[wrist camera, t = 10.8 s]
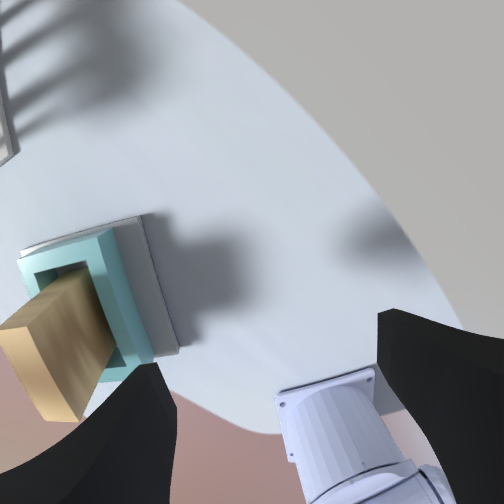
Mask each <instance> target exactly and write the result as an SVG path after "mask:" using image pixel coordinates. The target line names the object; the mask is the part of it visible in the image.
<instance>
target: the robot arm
mask: <svg viewBox="0 0 504 504" xmlns="http://www.w3.org/2000/svg"><path fill="white" fill-rule="evenodd" d="M377 364H378V365H379V367H380V369H381V371H382V373H383V375H384V377H385V379H386V381H387V382H388V384H389V386H390V387H391V389H392V390H393V391H394V393H395V394H396V395H397V397H398V398H399V400H400V401H401V402H402V404H403V405H404V406H405V408H406V409H407V410H408V412H409V413H410V414H411V416H412V417H413V418H414V420H415V421H416V423H417V424H418V425H419V427H420V428H421V429H422V431H423V433H424V434H425V436H426V437H427V439H428V441H429V443H430V445H431V447H432V449H433V450H434V452H435V454H436V456H437V458H438V460H439V462H440V465H441V466H442V469H443V470H442V469H440V468H439V467H437V466H430V465H429V464H425V465H423V466H421V467H419V468H418V469H417V467H416V466H415V464H414V462H413V461H412V459H411V458H410V459H408V460H406V458H405V457H404V455H403V453H402V452H401V450H400V448H399V447H398V445H397V443H396V442H395V440H394V438H393V437H392V435H391V433H390V432H389V430H388V428H387V427H386V425H385V423H384V422H383V420H382V419H381V417H380V415H379V414H378V412H377V410H376V409H375V407H374V405H373V400H374V385H375V371H374V370H373V369H372V368H367V369H364V370H361V371H358V372H355V373H351V374H348V375H345V376H342V377H338V378H335V379H331V380H328V381H324V382H321V383H317V384H313V385H310V386H306V387H302V388H298V389H294V390H290V391H286V392H281V393H278V394H277V395H276V396H275V402H276V407H277V411H278V416H279V421H280V425H281V430H282V434H283V439H284V444H285V448H286V453H287V457H288V461H289V462H292V463H293V462H296V466H297V470H298V473H299V477H300V481H301V484H302V488H303V492H304V495H305V499H306V503H307V504H504V339H500V338H495V337H489V336H483V335H479V334H475V333H471V332H467V331H463V330H460V329H456V328H453V327H450V326H447V325H444V324H441V323H438V322H435V321H432V320H429V319H426V318H423V317H420V316H417V315H414V314H411V313H408V312H405V311H402V310H398V309H394V308H393V309H390V310H387V311H384V312H380V313H378V340H377ZM368 378H369V379H368ZM367 379H368V380H367ZM282 402H285V403H283V404H280V403H282ZM176 438H177V407H176V405H175V403H174V401H173V398H172V396H171V394H170V392H169V390H168V387H167V385H166V383H165V380H164V378H163V376H162V374H161V371H160V369H159V366H158V364H157V362H155V363H148V364H140V365H139V366H137V367H136V368H135V369H134V370H133V371H132V372H131V373H130V374H129V375H128V377H127V378H126V379H125V380H124V381H123V382H122V383H121V384H120V385H119V386H118V387H117V388H116V389H115V391H114V392H113V393H112V394H111V395H110V396H109V397H108V398H107V399H106V400H105V401H104V402H103V403H102V404H101V405H100V406H99V407H98V408H97V409H96V410H95V411H94V412H93V413H92V414H91V415H90V416H89V417H88V418H87V419H86V420H85V421H84V422H83V423H81V424H80V425H79V426H78V427H77V428H76V429H75V430H73V431H72V432H71V433H70V434H69V435H67V436H66V437H64V438H63V439H62V440H61V441H59V442H58V443H56V444H55V445H54V446H52V447H50V448H49V449H47V450H46V451H44V452H42V453H41V454H39V455H38V456H36V457H35V458H33V459H31V460H29V461H27V462H25V463H23V464H22V465H20V466H17V467H15V468H13V469H11V470H8V471H6V472H4V473H1V474H0V504H169V503H170V502H169V498H170V485H171V477H172V469H173V460H174V453H175V446H176Z"/></svg>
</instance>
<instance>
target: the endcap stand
mask: <svg viewBox="0 0 504 504" xmlns="http://www.w3.org/2000/svg"><path fill="white" fill-rule="evenodd" d="M20 252H21V256H22V257H21V258H20V259H18V260H17V262H18V265H19V268H20V271H21V274H22V277H23V280H24V283H25V286H26V289H27V291H28V294H29V297H30V299H32V298H33V297H35V296H36V295H37V294H38V293H40V292H41V291H42V290H43V289H44V288H46V287H47V286H48V285H50V284H51V283H52V282H53V281H55V280H56V279H57V278H58V277H60V276H61V275H62V274H64V273H65V272H66V271H70V270H74V269H78V268H83V267H87V266H88V267H89V271H90V274H91V277H92V280H93V283H94V286H95V289H96V291H97V294H98V297H99V300H100V303H101V305H102V308H103V311H104V313H105V316H106V318H107V321H108V324H109V326H110V329H111V331H112V333H113V336H114V338H115V341H116V343H117V345H116V347H115V349H114V351H113V353H112V355H111V357H110V359H109V361H108V363H107V365H106V367H105V369H104V371H103V373H102V375H101V377H100V379H99V381H98V383H99V382H112V381H123V380H125V379H126V378H127V377H128V375H129V374H130V373H131V372H132V371H133V370H134V369H135V368H136V367H137V366H139V365H140V364H148V363H153V359H154V358H156V357H162V356H169V355H176V354H179V349H180V347H179V344H178V341H177V338H176V335H175V332H174V330H173V327H172V324H171V321H170V318H169V314H168V311H167V308H166V305H165V302H164V299H163V296H162V292H161V289H160V286H159V282H158V279H157V276H156V272H155V269H154V265H153V262H152V258H151V255H150V251H149V247H148V243H147V240H146V236H145V232H144V228H143V224H142V220H141V216H136V217H133V218H129V219H125V220H121V221H117V222H113V223H110V224H106V225H102V226H99V227H95V228H91V229H88V230H84V231H81V232H77V233H74V234H70V235H67V236H64V237H60V238H57V239H54V240H50V241H47V242H44V243H41V244H37V245H34V246H31V247H28V248H25V249H23V250H21V251H20Z"/></svg>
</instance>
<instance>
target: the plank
mask: <svg viewBox="0 0 504 504" xmlns="http://www.w3.org/2000/svg"><path fill="white" fill-rule="evenodd" d="M0 345H1V347H2V349H3V350H4V353H5V354H6V357H7V358H8V360H9V362H10V364H11V366H12V368H13V370H14V371H15V373H16V375H17V377H18V378H19V380H20V382H21V383H22V385H23V387H24V389H25V390H26V392H27V394H28V395H29V397H30V398H31V400H32V402H33V403H34V405H35V406H36V408H37V409H38V411H39V412H40V414H41V415H42V417H43V418H44V419H45V421H61V422H80V420H81V418H82V415H83V413H84V411H85V409H86V407H87V404H88V402H89V400H90V398H91V396H92V394H93V392H94V390H95V387H96V385H97V383H98V381H99V379H100V377H101V375H102V373H103V371H104V369H105V367H106V365H107V363H108V361H109V359H110V357H111V355H112V353H113V351H114V349H115V347H116V345H117V343H116V341H115V338H114V336H113V333H112V331H111V329H110V326H109V324H108V321H107V318H106V316H105V313H104V311H103V308H102V305H101V303H100V300H99V297H98V294H97V291H96V289H95V286H94V283H93V280H92V277H91V274H90V271H89V267H88V266H87V267H83V268H78V269H74V270H70V271H66V272H65V273H64V274H62V275H61V276H60V277H58V278H57V279H56V280H55V281H53V282H52V283H51V284H50V285H48V286H47V287H46V288H44V289H43V290H42V291H41V292H40V293H38V294H37V295H36V296H35V297H33V298H32V299H31V300H30V301H28V302H27V303H26V304H25V305H24V306H22V307H21V308H20V309H19V310H18V311H17V312H15V313H14V314H13V315H12V316H11V317H10V318H8V319H7V320H6V321H5V322H4V323H3V324H2V325H0Z"/></svg>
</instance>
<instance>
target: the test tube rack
mask: <svg viewBox="0 0 504 504" xmlns="http://www.w3.org/2000/svg"><path fill="white" fill-rule="evenodd" d="M13 156H14V151H13V147H12V143H11V139H10V135H9V130H8V126H7V121H6V116H5V111H4V106H3V100H2V94H1V87H0V166H1V165H2V164H4V163H5V162H6V161H7V160H9V159H10V158H11V157H13Z"/></svg>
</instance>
